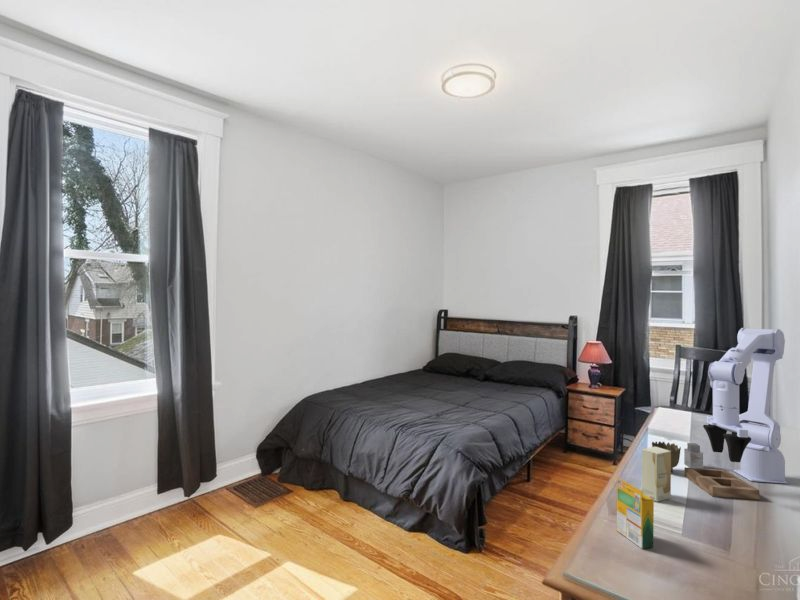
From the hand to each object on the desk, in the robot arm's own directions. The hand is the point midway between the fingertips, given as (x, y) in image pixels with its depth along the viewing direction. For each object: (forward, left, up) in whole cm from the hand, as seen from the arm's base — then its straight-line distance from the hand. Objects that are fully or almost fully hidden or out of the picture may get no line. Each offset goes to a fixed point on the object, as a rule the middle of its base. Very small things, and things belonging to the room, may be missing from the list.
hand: (726, 456), depth 113 cm
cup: (+9, -13, -10) cm, 19 cm away
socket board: (0, -3, -9) cm, 10 cm away
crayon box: (+35, +30, -10) cm, 47 cm away
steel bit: (-1, -19, -10) cm, 21 cm away
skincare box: (+21, +7, -10) cm, 24 cm away
